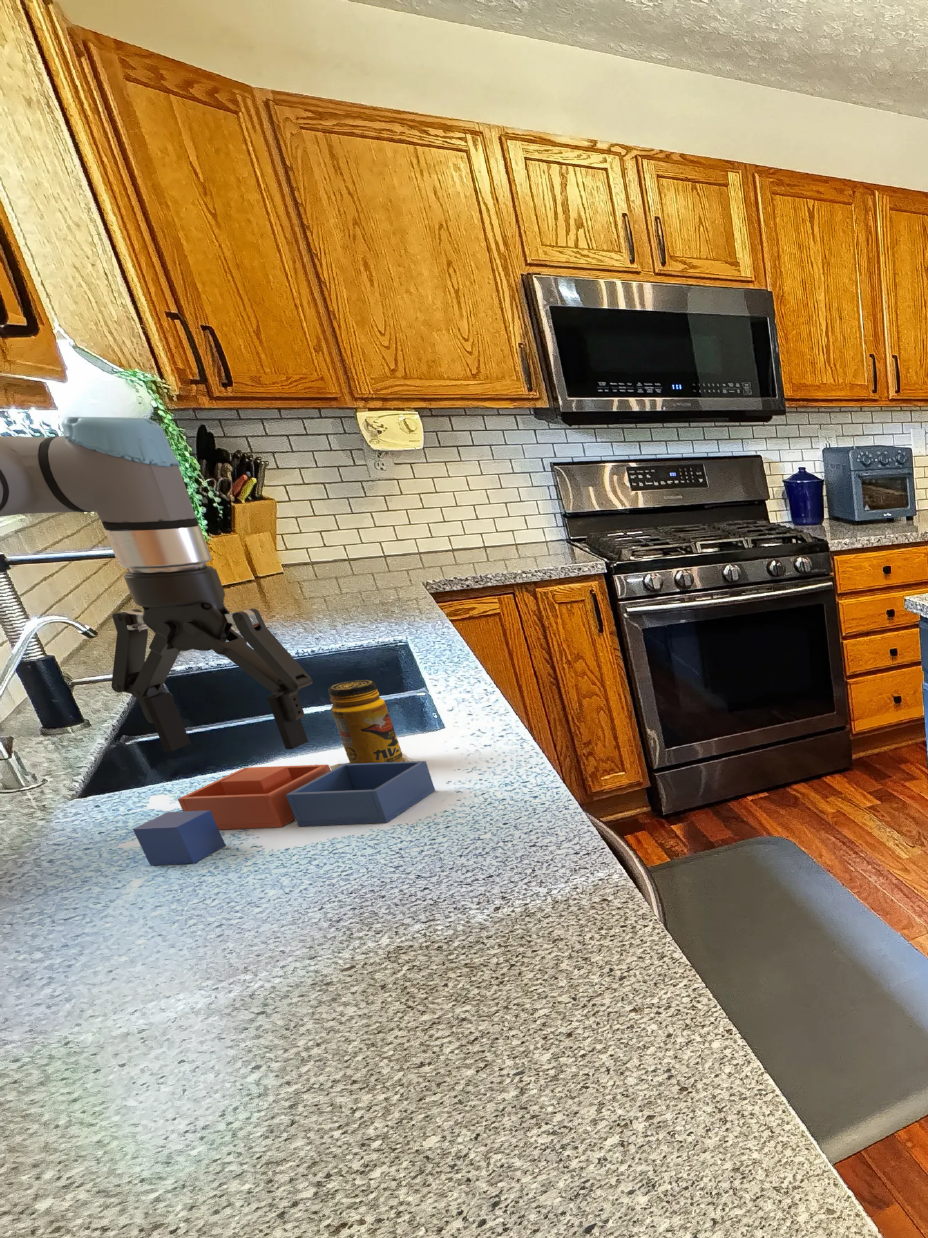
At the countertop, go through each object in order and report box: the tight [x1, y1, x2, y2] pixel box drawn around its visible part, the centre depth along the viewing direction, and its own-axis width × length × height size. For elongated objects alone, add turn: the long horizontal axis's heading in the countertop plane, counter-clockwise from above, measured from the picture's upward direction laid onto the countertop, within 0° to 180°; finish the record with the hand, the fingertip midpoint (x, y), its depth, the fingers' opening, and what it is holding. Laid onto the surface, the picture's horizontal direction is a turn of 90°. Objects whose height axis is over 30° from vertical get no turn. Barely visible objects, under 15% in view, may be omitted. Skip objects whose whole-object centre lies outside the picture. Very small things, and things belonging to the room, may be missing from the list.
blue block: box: [132, 810, 227, 866], centre depth 96 cm, size 4×4×4 cm
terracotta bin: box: [177, 764, 331, 831], centre depth 107 cm, size 10×10×4 cm
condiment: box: [327, 679, 410, 770], centre depth 120 cm, size 7×8×12 cm
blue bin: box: [286, 760, 436, 827], centre depth 108 cm, size 10×10×4 cm
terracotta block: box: [221, 766, 292, 795], centre depth 107 cm, size 4×4×4 cm
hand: (238, 746), depth 104 cm, fingers open, 13 cm apart
